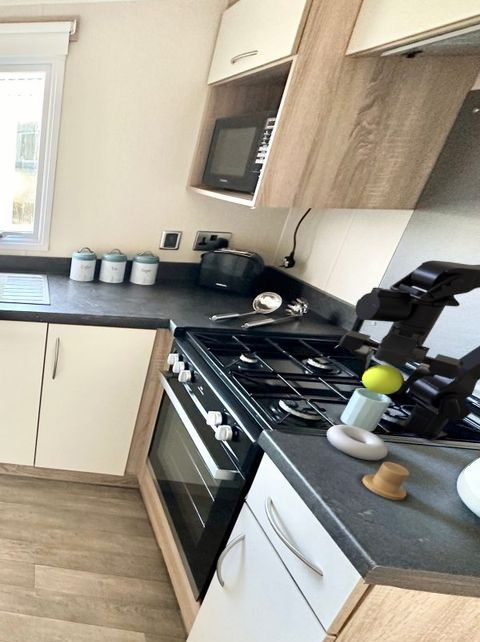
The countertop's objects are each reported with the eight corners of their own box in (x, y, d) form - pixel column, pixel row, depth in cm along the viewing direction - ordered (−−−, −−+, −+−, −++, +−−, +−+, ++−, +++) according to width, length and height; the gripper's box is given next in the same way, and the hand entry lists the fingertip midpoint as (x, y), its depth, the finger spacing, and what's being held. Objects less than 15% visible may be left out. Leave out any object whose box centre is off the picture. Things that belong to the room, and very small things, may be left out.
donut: (395, 466, 84) (359, 435, 93) (404, 453, 83) (367, 423, 92) (344, 461, 85) (313, 431, 94) (352, 449, 84) (319, 419, 92)
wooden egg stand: (375, 474, 82) (387, 454, 80) (412, 496, 77) (426, 476, 74) (354, 480, 80) (366, 460, 78) (391, 503, 75) (405, 482, 73)
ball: (377, 366, 96) (382, 354, 91) (409, 385, 91) (416, 373, 87) (352, 384, 97) (355, 373, 92) (382, 404, 92) (387, 392, 88)
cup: (351, 414, 101) (366, 386, 97) (380, 429, 96) (397, 400, 92) (334, 418, 99) (349, 390, 96) (362, 433, 94) (379, 404, 90)
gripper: (346, 316, 88) (316, 379, 95) (473, 348, 75) (428, 418, 82) (361, 307, 94) (332, 366, 101) (481, 335, 81) (439, 401, 88)
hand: (378, 386), depth 93 cm, fingers closed on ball, 6 cm apart
